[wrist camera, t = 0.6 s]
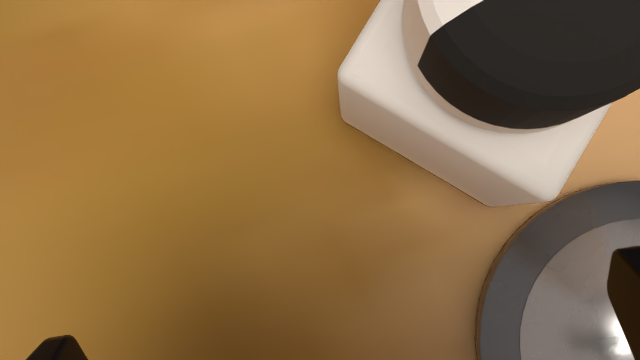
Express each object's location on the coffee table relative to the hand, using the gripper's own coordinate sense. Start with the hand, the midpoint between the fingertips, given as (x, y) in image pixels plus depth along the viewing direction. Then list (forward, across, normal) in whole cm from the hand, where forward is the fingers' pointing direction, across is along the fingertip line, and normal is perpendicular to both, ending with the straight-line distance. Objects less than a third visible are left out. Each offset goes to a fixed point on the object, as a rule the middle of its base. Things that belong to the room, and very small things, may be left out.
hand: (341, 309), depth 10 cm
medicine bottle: (+15, -6, +4) cm, 16 cm away
